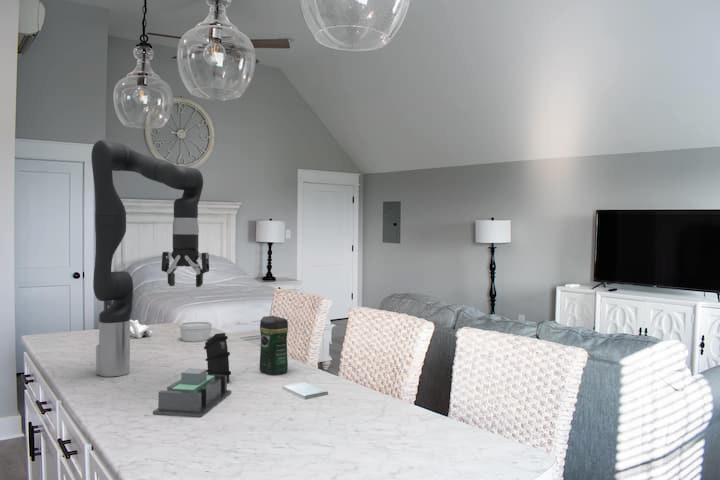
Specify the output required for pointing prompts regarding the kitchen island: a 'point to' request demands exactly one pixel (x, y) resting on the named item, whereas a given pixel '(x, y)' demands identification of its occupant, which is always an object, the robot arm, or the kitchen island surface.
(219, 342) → the magazine
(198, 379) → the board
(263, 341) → the coffee jar
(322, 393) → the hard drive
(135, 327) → the white irregular lump
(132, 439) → the kitchen island surface
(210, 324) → the ramekin
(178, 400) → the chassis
